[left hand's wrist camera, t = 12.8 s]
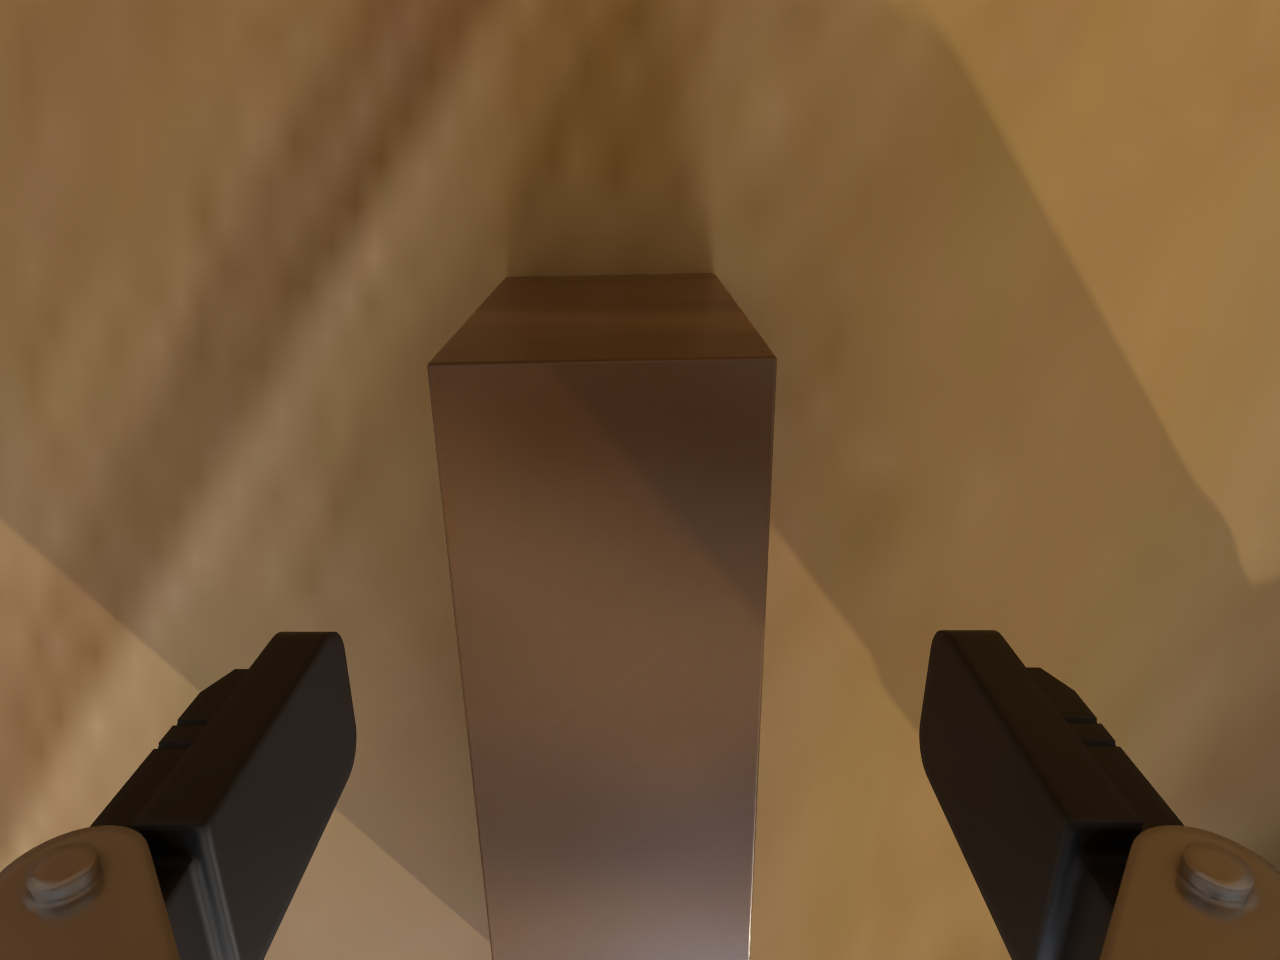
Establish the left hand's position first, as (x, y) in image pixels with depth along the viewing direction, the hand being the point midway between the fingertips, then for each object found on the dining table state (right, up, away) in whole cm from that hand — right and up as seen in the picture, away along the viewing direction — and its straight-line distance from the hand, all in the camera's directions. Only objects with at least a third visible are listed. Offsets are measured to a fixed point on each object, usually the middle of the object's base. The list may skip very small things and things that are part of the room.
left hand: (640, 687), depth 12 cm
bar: (0, -4, +14) cm, 14 cm away
